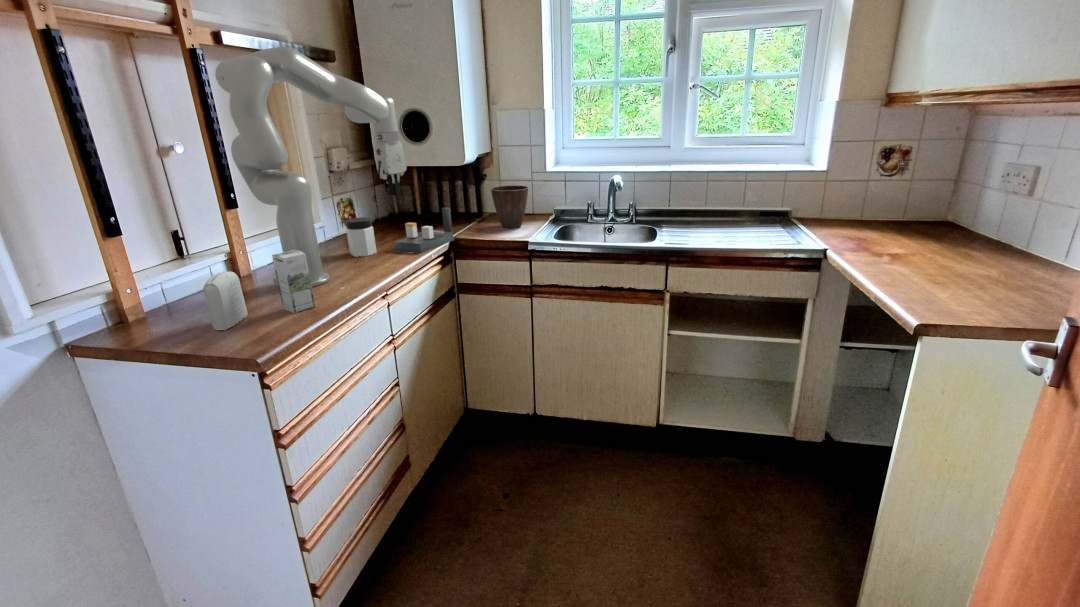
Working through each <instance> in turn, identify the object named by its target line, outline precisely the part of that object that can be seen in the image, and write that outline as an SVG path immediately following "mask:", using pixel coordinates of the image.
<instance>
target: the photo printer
mask: <svg viewBox="0 0 1080 607" xmlns="http://www.w3.org/2000/svg"><path fill="white" fill-rule="evenodd" d="M202 292H203V295H204V299H205V304H206V307H207V310H208V314H209V318H210V322H211V325H212V329H213V330H214V329H219V330H220V329H227V328H230V327H232V326H233V327H234V326H236V325H237V324H239V323H240V322H241V321H243V318H244V319H245V318H246V317H248V310H247V309H248V308H247V306H246V302H245V297H244V293H243V290H242V286H241V281H240V278H239V276H238V275H237V274H236V273H235V272H233V271H231V270H230V271H220V272H218V273H215V274H214V275H212V276H211V277H210V278H209V279H207V281H206V282H205V283H204V285H203V287H202ZM239 321H240V322H239ZM235 324H236V325H235ZM233 327H232V328H233ZM230 329H231V328H230Z"/></svg>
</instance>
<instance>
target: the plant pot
mask: <svg viewBox="0 0 1080 607" xmlns="http://www.w3.org/2000/svg"><path fill="white" fill-rule="evenodd" d="M490 192H491V198H492V202H493V205H494V209H495V212H496V214H497V217H498V219H499V220H498V221H499V222H500V225H501V227H502V229H504V230H517V229H520V228H521V227H522V224H523V222H524V216H525V213H526V209H527V204H528V203H527V201H528V195H529V194H528V193H529V187H528V186H527V185H500V186H494V187H491V188H490Z"/></svg>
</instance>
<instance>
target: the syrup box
mask: <svg viewBox="0 0 1080 607" xmlns="http://www.w3.org/2000/svg"><path fill="white" fill-rule="evenodd" d="M272 261H273V266H274V271H275V276H276V278H277V281H278V285H277V286H278V290H279V294H280V299H281V300H280V301H281V304H282V307H283V310H285V311H287V312H289V313H293V314H297V313H301V312H304V311H306V310H310V309H313V308H315V307H316V303H315V298H314V292H313V287H312V286H311V281H310V276H309V270H308V265H307V260H306V254H305V253H303V252H301V251H298V250H292V251H287V252H283V251H282V252H280V253H275V254H272Z"/></svg>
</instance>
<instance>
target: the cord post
mask: <svg viewBox="0 0 1080 607" xmlns="http://www.w3.org/2000/svg"><path fill="white" fill-rule="evenodd" d="M441 215H442V223H443V230H444V231H445V232H450V231H453V226H452V225H453V224H452V215H451V208H450V207H447V206H446V207H441ZM453 241H455V236H454V235H453Z"/></svg>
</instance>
